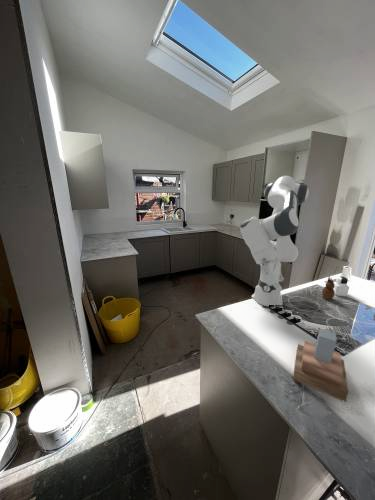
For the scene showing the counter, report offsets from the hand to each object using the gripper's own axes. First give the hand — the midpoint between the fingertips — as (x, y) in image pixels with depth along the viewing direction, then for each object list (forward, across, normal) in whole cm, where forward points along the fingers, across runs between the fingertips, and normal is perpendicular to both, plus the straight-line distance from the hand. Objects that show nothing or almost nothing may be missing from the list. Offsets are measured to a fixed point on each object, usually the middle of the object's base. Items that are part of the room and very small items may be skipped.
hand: (281, 285), depth 83 cm
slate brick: (+29, -6, -3) cm, 29 cm away
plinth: (+35, -6, +2) cm, 36 cm away
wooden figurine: (+42, +63, -6) cm, 76 cm away
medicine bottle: (+47, +75, -12) cm, 89 cm away
